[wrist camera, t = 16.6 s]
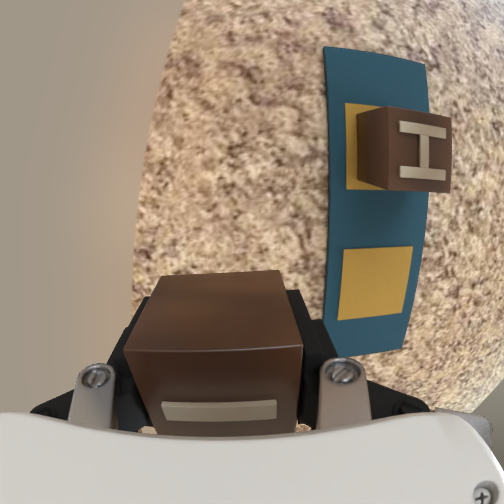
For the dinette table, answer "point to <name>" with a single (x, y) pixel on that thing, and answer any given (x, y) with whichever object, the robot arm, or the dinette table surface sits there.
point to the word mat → (369, 209)
